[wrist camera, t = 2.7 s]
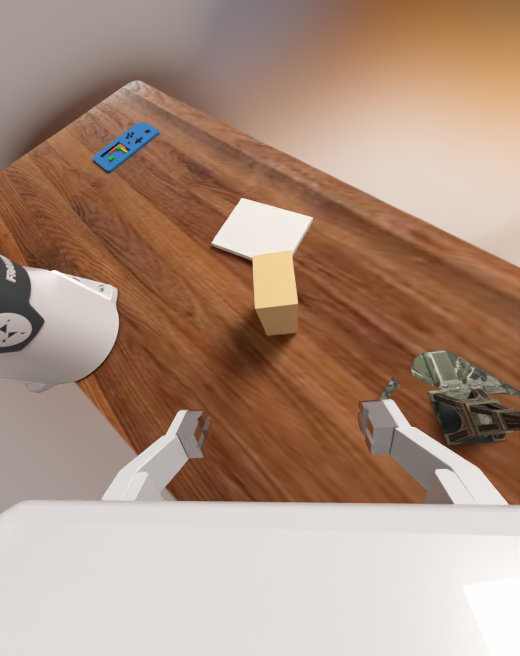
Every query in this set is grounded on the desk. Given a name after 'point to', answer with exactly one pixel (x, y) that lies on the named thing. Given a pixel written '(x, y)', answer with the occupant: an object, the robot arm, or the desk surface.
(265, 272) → the card box
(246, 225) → the mat
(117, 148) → the handheld gaming device
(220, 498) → the desk surface
